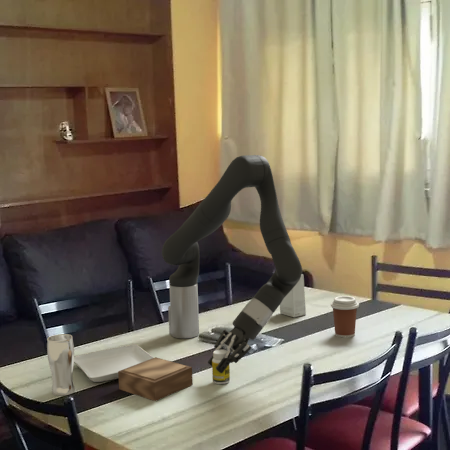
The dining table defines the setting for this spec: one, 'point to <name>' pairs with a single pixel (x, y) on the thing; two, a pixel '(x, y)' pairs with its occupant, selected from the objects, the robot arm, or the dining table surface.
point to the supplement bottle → (217, 376)
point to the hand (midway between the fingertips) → (214, 367)
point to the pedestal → (155, 378)
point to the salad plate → (110, 361)
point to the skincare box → (294, 301)
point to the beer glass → (61, 363)
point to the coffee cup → (344, 315)
